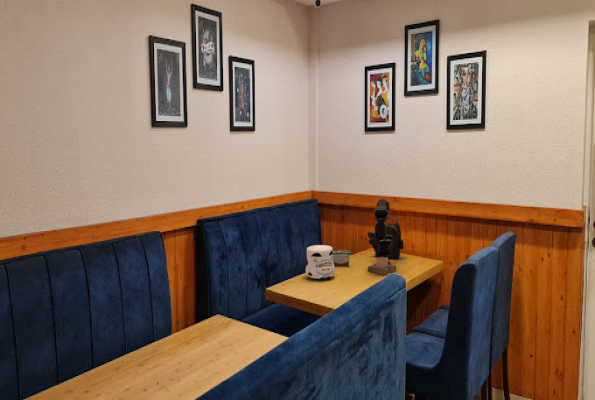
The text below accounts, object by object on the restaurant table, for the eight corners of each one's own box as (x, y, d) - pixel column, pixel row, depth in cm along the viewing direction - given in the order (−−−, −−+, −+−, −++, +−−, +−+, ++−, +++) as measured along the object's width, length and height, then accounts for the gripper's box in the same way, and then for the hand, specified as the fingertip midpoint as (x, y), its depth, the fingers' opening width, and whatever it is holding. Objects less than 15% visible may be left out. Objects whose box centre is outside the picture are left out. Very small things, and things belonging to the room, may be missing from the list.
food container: (350, 264, 304) (350, 249, 302) (351, 267, 298) (350, 251, 296) (331, 264, 305) (331, 249, 304) (331, 267, 299) (331, 252, 298)
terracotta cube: (381, 264, 287) (381, 256, 287) (387, 266, 284) (387, 258, 283) (376, 266, 284) (376, 258, 283) (383, 267, 280) (383, 259, 280)
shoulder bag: (406, 258, 315) (406, 217, 312) (400, 261, 308) (400, 219, 305) (377, 254, 329) (376, 215, 326) (370, 256, 322) (370, 216, 319)
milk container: (326, 283, 265) (325, 252, 263) (300, 279, 275) (299, 249, 273) (340, 275, 280) (339, 246, 278) (315, 272, 289) (314, 243, 287)
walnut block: (380, 268, 293) (380, 262, 293) (395, 272, 284) (395, 265, 284) (368, 272, 285) (367, 266, 285) (383, 276, 276) (383, 269, 276)
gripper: (380, 224, 294) (380, 248, 295) (361, 229, 281) (361, 254, 283) (394, 226, 285) (395, 251, 287) (375, 231, 273) (376, 257, 275)
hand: (381, 253), depth 283 cm, fingers open, 9 cm apart
